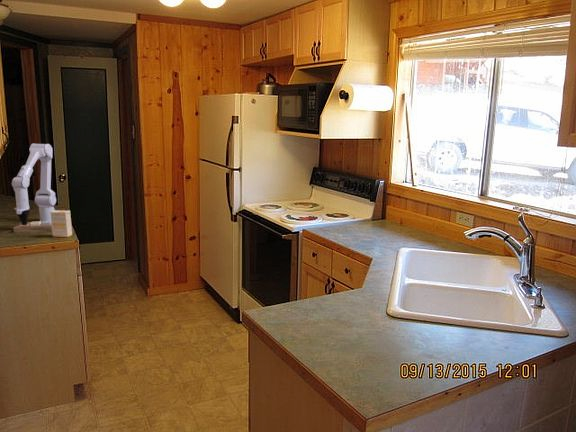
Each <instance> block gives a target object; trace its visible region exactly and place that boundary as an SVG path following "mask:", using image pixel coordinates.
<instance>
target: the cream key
mask: <svg viewBox="0 0 576 432" xmlns="http://www.w3.org/2000/svg"><path fill="white" fill-rule="evenodd" d="M30 222H31V223H30V226H38V225H41V221H40V220H39V221H30Z"/></svg>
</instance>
